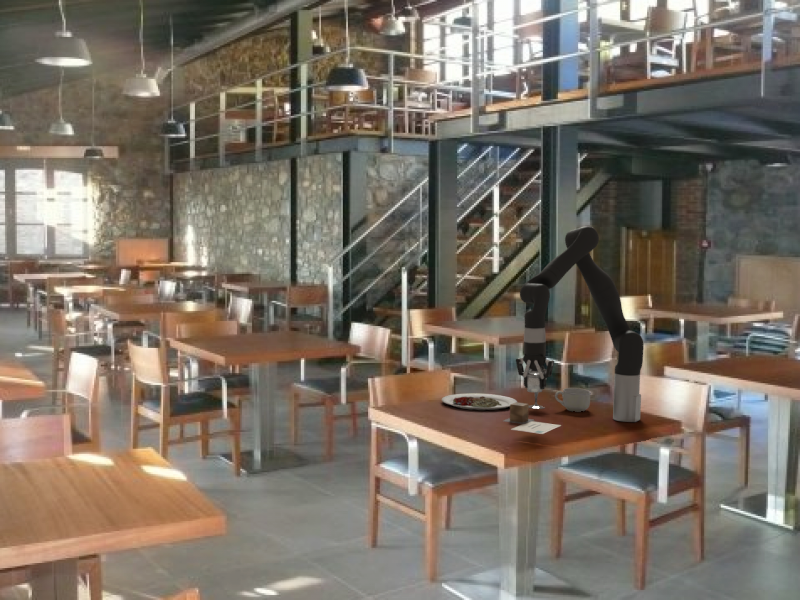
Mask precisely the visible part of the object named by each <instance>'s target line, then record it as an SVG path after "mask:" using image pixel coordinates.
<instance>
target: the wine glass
mask: <svg viewBox="0 0 800 600" xmlns="http://www.w3.org/2000/svg"><path fill="white" fill-rule="evenodd" d="M546 371H547V368H545V373H546ZM530 373H538V370H535V369H532V370H531V371H530ZM533 393H534V404H532V405H529V406H528V409H532V410H541V409H543V410H544V409H545V408H546V407H545V406H544V407H543V405H539V404H538V395H539V392H533Z"/></svg>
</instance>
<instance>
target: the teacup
mask: <svg viewBox="0 0 800 600" xmlns="http://www.w3.org/2000/svg"><path fill="white" fill-rule="evenodd" d="M591 393H592V391H590V390H588V389H585V388H580V387H578V388H577V387H567V388H563V389H562V390H558V391H556V392H555V393H554V398H555V400H556V402H558V403H560V404H561V405H562V406H563V407H564V408H566V410H567V411H569V412H573V411H575V412H576V413H582V412H581V411H583V412H585V411H586V410H587V409H589V408H590V404H591ZM558 395H561V396H562V400H561V399H559V398H558ZM575 412H574V413H575Z"/></svg>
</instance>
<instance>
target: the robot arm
mask: <svg viewBox="0 0 800 600" xmlns="http://www.w3.org/2000/svg"><path fill="white" fill-rule="evenodd" d="M599 238H600V237H599V233H598V231H597V230H596V229H595V228H594V227H592V226H589V225H588V226H586V225H585V226H581V227H578V228H575V229H571V230H569V231H568V232H567V233H566V235H565V238H564V241H565V242H564V244H565V246H566V249H565V250H564V251H562V252H561V253H560V254H559V255H557V256H556V257H555V258H553V259H551V260H550V261H549V262H548V263H547V265H546V266H545V267H544V268H543V269H542V270H541V271H540V272H539V273H538V274H537V275H534V276H533V277H531V278H530V279H529V280H527V281H526V282H525V283H524V284H523V285H522V287H520V291H519V297H520V300H521V301H522V302H524V303H526V304H533V307H532V309H530V310H527V311H526V312H525V314H524V331H523V332H524V333H523V357H518V358H515V364H516V368H517V372H518V376H520V377H521V376H522V377H523V386H524V388H525V389H527V374H528V373H530V371H531V370H532V369H535V370H538V373H539V374H540V377H541V379H540V389H542V390H545V388H546V387H547V378H550V377H552V374H553V369H554V365H555V361H554V360H553V359H552V360H551V359H547V356H546V352H547V351H546V348H547V347H546V346H547V344H546V340H547V339H546V338H547V337H546V318H545V317H546V314H547V309H548V305H549V302H550V296H551V294H550V290H551V289H553V288H555V287H556V285H558V283H559V282H560V281H561V280H562V278H564V276H565V275H566V274H567V273H568V272H569V271H570V270H571V269H572V268H573V267H574V266H575V265H576V266H577V268H578V270H579V271H580V274H581V276H582V278H583V280H584V282H585V284H586V286H587V289H588V290H589V293H590V295H591V297H592V299H593V302H594V304H595V306H596V308H597V310H598V312H599V314H600V315H601V317H602V319H603V321H604V323H605V325H606V327H607V330H608V332H609V336H610V339H611V342H612V345H613V348H614V349H615V350H616V352H617V353H618V354H617V355H618V357H617V359H618V360H617V363H616V365H615V366H614V378H613V379H614V381H613V405H612V406H613V407H612V408H613V409H612V410H613V411H612V412H613V413H612V419H613V420H614V421H618V422H624V423H625V422H628V423H637V422H638V421H640V420H641V413H642V412H641V408H642V395H641V393H640V388H641V387H640V385H641V370H642V367H643V363H644V360H643V359H644V349H645V347H644V341H643V338H642V336H641V335H640V334H639V333H637V331H636V332H635V331H633V330H632V329H631V327H630V326H629V323H628V322H627V319H626V318H625V316H624V312H623V307H622V301H621V297H620V293H619V291H618V289H617V287H616V285H615V283H614V281H613V279H612V277H611V276H610V275H609V274H608V273H607V272H606V271H604V270H603V269H602V268H601V267H600V266H599V265H598V264H597V263H596V262H595V261H594V260H593V258H592V256H591V254H590V252H591V251H593V250H595V248H597V246H598V244H599V241H600V239H599ZM524 364H525V368H524ZM545 364H546V368H545ZM545 369H546V370H547V371H546V373H545Z"/></svg>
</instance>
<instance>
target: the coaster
mask: <svg viewBox="0 0 800 600" xmlns="http://www.w3.org/2000/svg"><path fill="white" fill-rule="evenodd" d="M531 421H534V422H535V419H533V418H532V419H531V418H528V420H527V421H525V422H515V421H510V417H508V418H506V419H504V420H502V422H507V423H514V424H520V425H522V424H525V423H527V422H528V423H529V422H531Z"/></svg>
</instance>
